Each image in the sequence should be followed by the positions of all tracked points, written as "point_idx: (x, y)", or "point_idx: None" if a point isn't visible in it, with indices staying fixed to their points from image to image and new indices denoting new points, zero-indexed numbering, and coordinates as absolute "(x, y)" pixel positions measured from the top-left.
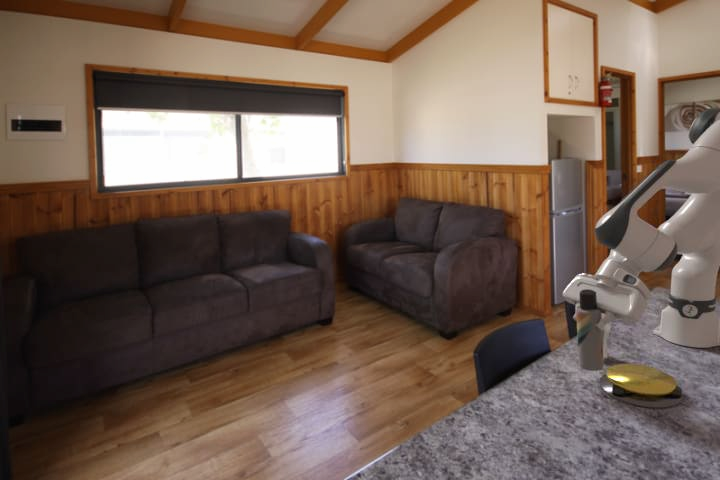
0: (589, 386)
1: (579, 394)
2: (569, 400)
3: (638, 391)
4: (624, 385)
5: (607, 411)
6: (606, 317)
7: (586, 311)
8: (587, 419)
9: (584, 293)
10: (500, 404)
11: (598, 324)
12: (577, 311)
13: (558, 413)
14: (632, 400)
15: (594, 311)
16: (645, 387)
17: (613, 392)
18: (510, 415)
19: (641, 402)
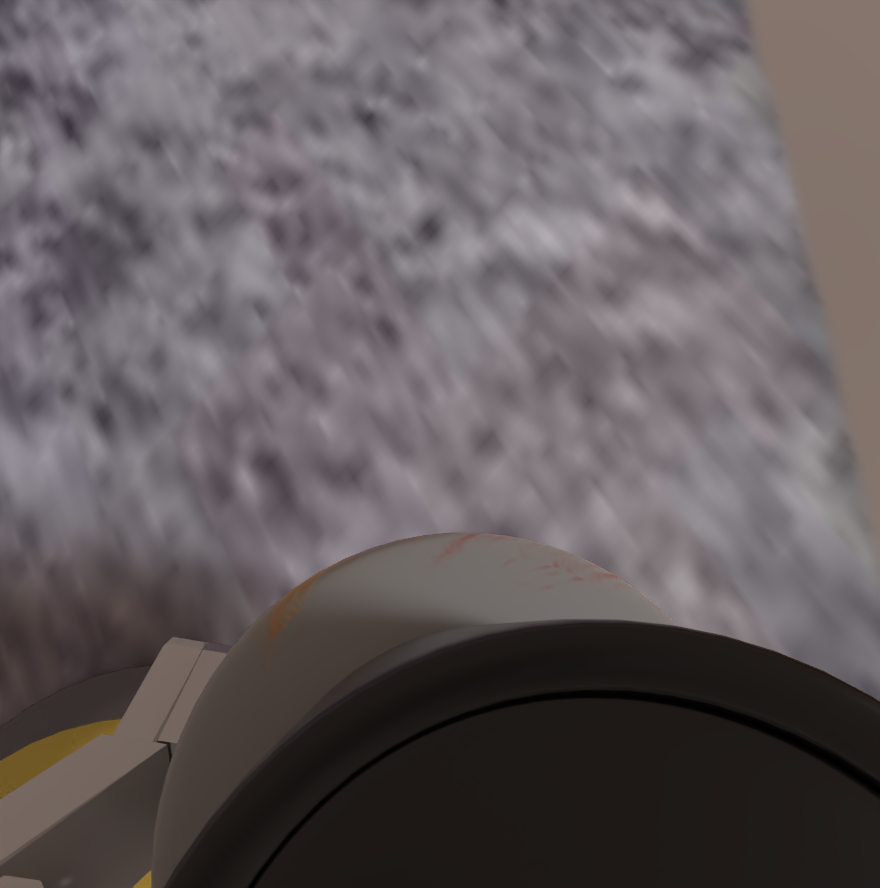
0: None
1: None
2: (415, 419)
3: (48, 737)
4: None
5: (191, 477)
6: (2, 816)
7: (396, 598)
8: (232, 310)
9: (641, 789)
10: (645, 87)
11: (182, 656)
12: (631, 588)
13: (375, 245)
14: (114, 705)
15: (230, 723)
16: None
17: None
18: (533, 46)
19: (61, 728)
